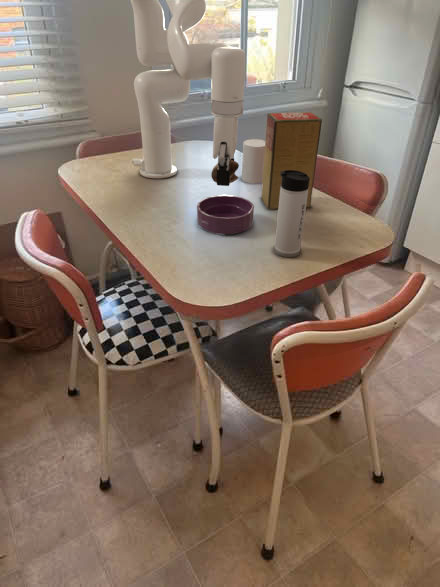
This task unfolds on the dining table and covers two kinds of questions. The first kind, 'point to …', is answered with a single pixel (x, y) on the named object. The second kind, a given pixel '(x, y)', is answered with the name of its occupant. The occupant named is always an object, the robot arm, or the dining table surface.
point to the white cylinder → (253, 160)
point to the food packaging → (289, 151)
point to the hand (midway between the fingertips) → (225, 178)
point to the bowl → (225, 214)
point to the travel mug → (291, 212)
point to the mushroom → (232, 167)
